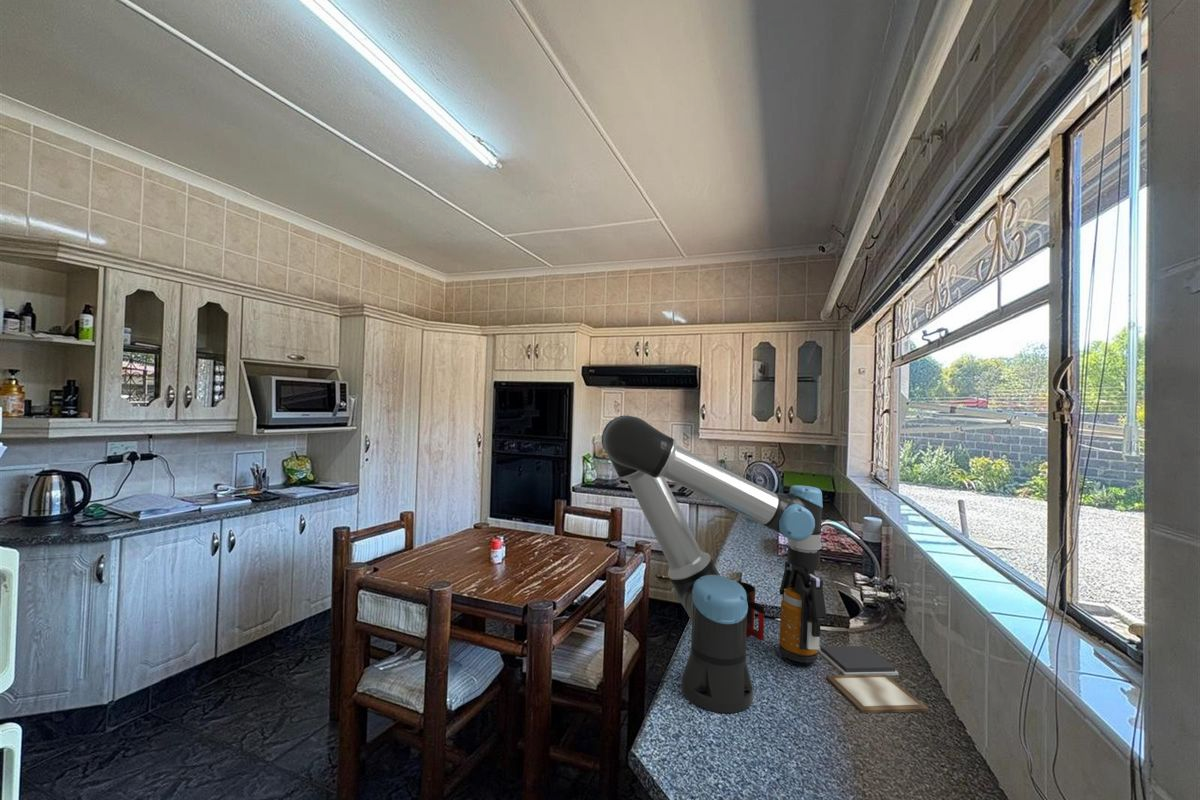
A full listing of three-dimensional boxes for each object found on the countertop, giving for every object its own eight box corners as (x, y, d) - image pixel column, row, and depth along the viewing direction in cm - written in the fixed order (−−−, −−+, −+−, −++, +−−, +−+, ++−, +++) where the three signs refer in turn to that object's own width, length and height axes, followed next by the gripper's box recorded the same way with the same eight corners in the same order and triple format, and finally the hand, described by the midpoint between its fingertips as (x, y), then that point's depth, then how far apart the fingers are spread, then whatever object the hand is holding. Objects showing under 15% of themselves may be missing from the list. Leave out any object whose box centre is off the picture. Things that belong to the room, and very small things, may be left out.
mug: (762, 645, 127) (763, 600, 127) (713, 629, 135) (714, 587, 136) (773, 633, 135) (775, 590, 135) (726, 618, 143) (728, 578, 143)
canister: (810, 648, 124) (813, 571, 125) (826, 671, 113) (829, 586, 114) (774, 645, 125) (778, 568, 126) (787, 667, 114) (790, 582, 115)
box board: (862, 713, 99) (862, 709, 99) (826, 678, 112) (826, 675, 112) (929, 711, 100) (929, 708, 100) (885, 677, 113) (885, 674, 113)
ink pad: (845, 676, 113) (845, 669, 113) (817, 651, 125) (818, 645, 125) (898, 675, 114) (898, 668, 114) (866, 651, 126) (867, 644, 126)
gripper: (846, 563, 109) (842, 661, 108) (794, 536, 132) (791, 617, 131) (815, 562, 108) (811, 661, 107) (768, 535, 131) (764, 616, 131)
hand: (800, 637), depth 119 cm, fingers closed on canister, 11 cm apart
